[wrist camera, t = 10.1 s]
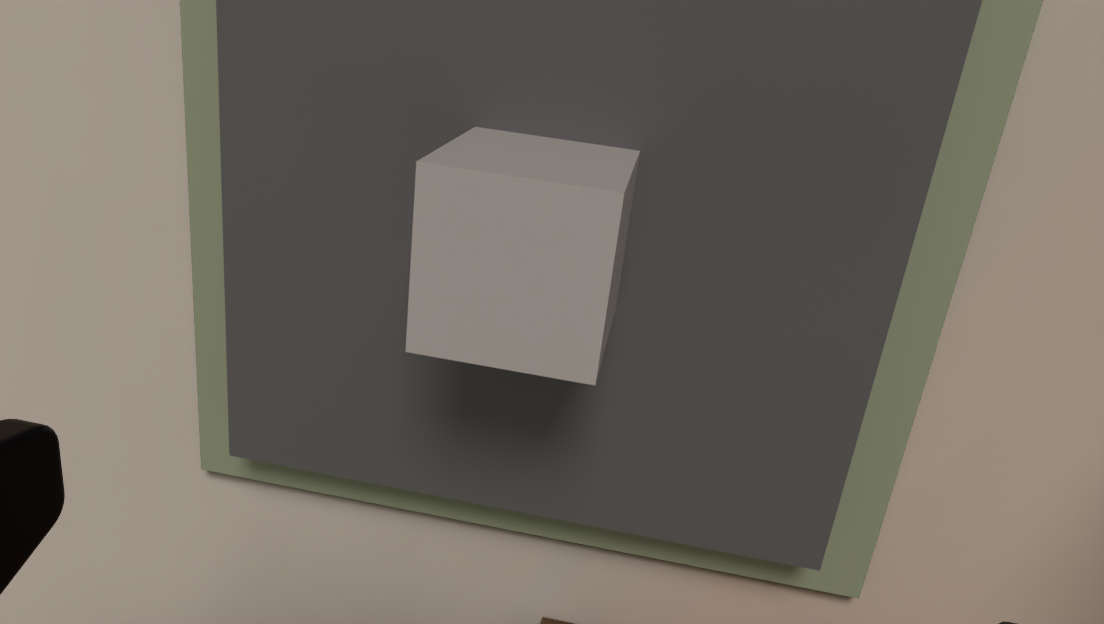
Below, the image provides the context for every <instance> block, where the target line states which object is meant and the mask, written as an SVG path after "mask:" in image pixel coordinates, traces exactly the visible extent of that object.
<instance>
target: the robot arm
mask: <svg viewBox="0 0 1104 624" xmlns="http://www.w3.org/2000/svg"><path fill="white" fill-rule="evenodd" d="M63 504H64V485H63V476H62V467H61V458H60V449H59V441H58V437H57V435H56V433H55V432H54V430H53V429H51V428H50V427H49V426H47V425H43V424H38V423H33V422H28V421H23V420H18V419H5V420H0V594H1V593H2V592H3V591H4V589H5V588H6V587H7V585H8V584H9V583H10V581H11V580H12V579H13V577H14V576H15V575H16V574H17V572H18V571H19V570H20V568H21V567H22V566H23V564H24V563H25V562H26V561H27V559H28V558H29V557H30V555H31V554H32V553H33V551H34V550H35V549H36V547H37V546H38V545H39V544H40V542H41V541H42V540H43V538H44V537H45V536H46V534H47V533H48V532H49V531H50V529H51V528H52V527H53V525H54V524H55V522H56V521H57V519H58V517H59V515H60V513H61V511H62V508H63ZM999 624H1016V623H1011V622H1001V623H999Z"/></svg>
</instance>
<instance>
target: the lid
mask: <svg viewBox="0 0 1104 624" xmlns="http://www.w3.org/2000/svg"><path fill="white" fill-rule="evenodd" d="M981 4H982V0H216V16H217V50H218V85H219V119H220V153H221V188H222V222H223V256H224V290H225V325H226V359H227V393H228V428H229V455H230V456H235V457H240V458H245V459H250V460H255V461H260V462H266V463H271V464H276V465H281V466H286V467H291V468H296V469H301V470H307V471H312V472H317V473H322V474H327V475H332V476H337V477H342V478H347V479H353V480H358V481H363V482H368V483H373V484H378V485H383V486H388V487H393V488H399V489H404V490H409V491H414V492H419V493H424V494H429V495H434V496H440V497H445V498H450V499H455V500H460V501H465V502H470V503H475V504H480V505H486V506H491V507H496V508H501V509H506V510H511V511H516V512H521V513H527V514H532V515H537V516H542V517H547V518H552V519H557V520H562V521H567V522H573V523H578V524H583V525H588V526H593V527H598V528H603V529H608V530H614V531H619V532H624V533H629V534H634V535H639V536H644V537H649V538H654V539H660V540H665V541H670V542H675V543H680V544H685V545H690V546H695V547H701V548H706V549H711V550H716V551H721V552H726V553H731V554H736V555H741V556H747V557H752V558H757V559H762V560H767V561H772V562H777V563H782V564H788V565H793V566H798V567H803V568H808V569H813V570H818V571H820V569H821V565H822V562H823V558H824V555H825V551H826V548H827V544H828V541H829V537H830V534H831V530H832V527H833V523H834V520H835V516H836V513H837V509H838V506H839V502H840V499H841V495H842V492H843V488H844V485H845V481H846V478H847V474H848V471H849V467H850V464H851V460H852V457H853V453H854V450H855V446H856V443H857V439H858V436H859V432H860V429H861V425H862V422H863V418H864V415H865V411H866V408H867V404H868V400H869V397H870V393H871V390H872V386H873V383H874V379H875V376H876V372H877V369H878V365H879V362H880V358H881V355H882V351H883V348H884V344H885V341H886V337H887V334H888V330H889V327H890V323H891V320H892V316H893V313H894V309H895V306H896V302H897V299H898V295H899V292H900V288H901V285H902V281H903V278H904V274H905V271H906V267H907V264H908V260H909V257H910V253H911V250H912V246H913V243H914V239H915V236H916V232H917V228H918V225H919V221H920V218H921V214H922V211H923V207H924V204H925V200H926V197H927V193H928V190H929V186H930V183H931V179H932V176H933V172H934V169H935V165H936V162H937V158H938V155H939V151H940V148H941V144H942V141H943V137H944V134H945V130H946V127H947V123H948V120H949V116H950V113H951V109H952V106H953V102H954V99H955V95H956V92H957V88H958V85H959V81H960V78H961V74H962V71H963V67H964V64H965V60H966V56H967V53H968V49H969V46H970V42H971V39H972V35H973V32H974V28H975V25H976V21H977V18H978V14H979V11H980V7H981Z"/></svg>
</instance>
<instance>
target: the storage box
mask: <svg viewBox="0 0 1104 624" xmlns="http://www.w3.org/2000/svg"><path fill="white" fill-rule="evenodd" d="M541 624H573V623H568V622H563V621H558V620H553V619H549V618H544V617H543V618H542V622H541Z"/></svg>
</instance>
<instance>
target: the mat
mask: <svg viewBox="0 0 1104 624" xmlns="http://www.w3.org/2000/svg"><path fill="white" fill-rule="evenodd" d="M1042 2H1043V0H982V4H981V7H980V11H979V14H978V18H977V21H976V25H975V28H974V32H973V35H972V39H971V42H970V46H969V49H968V53H967V56H966V60H965V64H964V67H963V71H962V74H961V78H960V81H959V85H958V88H957V92H956V95H955V99H954V102H953V106H952V109H951V113H950V116H949V120H948V123H947V127H946V130H945V134H944V137H943V141H942V144H941V148H940V151H939V155H938V158H937V162H936V165H935V169H934V172H933V176H932V179H931V183H930V186H929V190H928V193H927V197H926V200H925V204H924V207H923V211H922V214H921V218H920V221H919V225H918V228H917V232H916V236H915V239H914V243H913V246H912V250H911V253H910V257H909V260H908V264H907V267H906V271H905V274H904V278H903V281H902V285H901V288H900V292H899V295H898V299H897V302H896V306H895V309H894V313H893V316H892V320H891V323H890V327H889V330H888V334H887V337H886V341H885V344H884V348H883V351H882V355H881V358H880V362H879V365H878V369H877V372H876V376H875V379H874V383H873V386H872V390H871V393H870V397H869V400H868V404H867V408H866V411H865V415H864V418H863V422H862V425H861V429H860V432H859V436H858V439H857V443H856V446H855V450H854V453H853V457H852V460H851V464H850V467H849V471H848V474H847V478H846V481H845V485H844V488H843V492H842V495H841V499H840V502H839V506H838V509H837V513H836V516H835V520H834V523H833V527H832V530H831V534H830V537H829V541H828V544H827V548H826V551H825V555H824V558H823V562H822V565H821V569H820V571H818V570H813V569H808V568H803V567H798V566H793V565H788V564H782V563H777V562H772V561H767V560H762V559H757V558H752V557H747V556H741V555H736V554H731V553H726V552H721V551H716V550H711V549H706V548H701V547H695V546H690V545H685V544H680V543H675V542H670V541H665V540H660V539H654V538H649V537H644V536H639V535H634V534H629V533H624V532H619V531H614V530H608V529H603V528H598V527H593V526H588V525H583V524H578V523H573V522H567V521H562V520H557V519H552V518H547V517H542V516H537V515H532V514H527V513H521V512H516V511H511V510H506V509H501V508H496V507H491V506H486V505H480V504H475V503H470V502H465V501H460V500H455V499H450V498H445V497H440V496H434V495H429V494H424V493H419V492H414V491H409V490H404V489H399V488H393V487H388V486H383V485H378V484H373V483H368V482H363V481H358V480H353V479H347V478H342V477H337V476H332V475H327V474H322V473H317V472H312V471H307V470H301V469H296V468H291V467H286V466H281V465H276V464H271V463H266V462H260V461H255V460H250V459H245V458H240V457H235V456H230V455H229V428H228V393H227V359H226V325H225V290H224V256H223V222H222V188H221V153H220V119H219V85H218V50H217V16H216V0H180V15H181V37H182V59H183V81H184V103H185V125H186V147H187V169H188V191H189V213H190V235H191V257H192V279H193V301H194V323H195V345H196V367H197V389H198V411H199V433H200V455H201V469H202V470H207V471H212V472H217V473H222V474H227V475H233V476H238V477H243V478H248V479H253V480H258V481H263V482H268V483H273V484H278V485H283V486H289V487H294V488H299V489H304V490H309V491H314V492H319V493H324V494H329V495H334V496H339V497H345V498H350V499H355V500H360V501H365V502H370V503H375V504H380V505H385V506H390V507H395V508H400V509H406V510H411V511H416V512H421V513H426V514H431V515H436V516H441V517H446V518H451V519H456V520H462V521H467V522H472V523H477V524H482V525H487V526H492V527H497V528H502V529H507V530H512V531H518V532H523V533H528V534H533V535H538V536H543V537H548V538H553V539H558V540H563V541H568V542H573V543H579V544H584V545H589V546H594V547H599V548H604V549H609V550H614V551H619V552H624V553H629V554H635V555H640V556H645V557H650V558H655V559H660V560H665V561H670V562H675V563H680V564H685V565H690V566H696V567H701V568H706V569H711V570H716V571H721V572H726V573H731V574H736V575H741V576H746V577H752V578H757V579H762V580H767V581H772V582H777V583H782V584H787V585H792V586H797V587H802V588H808V589H813V590H818V591H823V592H828V593H833V594H838V595H843V596H848V597H853V598H858V599H859V597H860V593H861V590H862V587H863V584H864V580H865V577H866V574H867V571H868V567H869V564H870V561H871V558H872V554H873V551H874V548H875V545H876V541H877V538H878V535H879V532H880V528H881V525H882V522H883V519H884V515H885V512H886V509H887V506H888V502H889V499H890V496H891V493H892V489H893V486H894V483H895V480H896V476H897V473H898V470H899V467H900V463H901V460H902V457H903V454H904V450H905V447H906V444H907V441H908V438H909V434H910V431H911V428H912V425H913V421H914V418H915V415H916V412H917V408H918V405H919V402H920V399H921V395H922V392H923V389H924V386H925V382H926V379H927V376H928V373H929V369H930V366H931V363H932V360H933V356H934V353H935V350H936V347H937V343H938V340H939V337H940V334H941V330H942V327H943V324H944V321H945V317H946V314H947V311H948V308H949V304H950V301H951V298H952V295H953V291H954V288H955V285H956V282H957V278H958V275H959V272H960V269H961V265H962V262H963V259H964V256H965V252H966V249H967V246H968V243H969V239H970V236H971V233H972V230H973V226H974V223H975V220H976V217H977V213H978V210H979V207H980V204H981V201H982V197H983V194H984V191H985V188H986V184H987V181H988V178H989V175H990V171H991V168H992V165H993V162H994V158H995V155H996V152H997V149H998V145H999V142H1000V139H1001V136H1002V132H1003V129H1004V126H1005V123H1006V119H1007V116H1008V113H1009V110H1010V106H1011V103H1012V100H1013V97H1014V93H1015V90H1016V87H1017V84H1018V80H1019V77H1020V74H1021V71H1022V67H1023V64H1024V61H1025V58H1026V54H1027V51H1028V48H1029V45H1030V41H1031V38H1032V35H1033V32H1034V28H1035V25H1036V22H1037V19H1038V15H1039V12H1040V9H1041V6H1042Z"/></svg>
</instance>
